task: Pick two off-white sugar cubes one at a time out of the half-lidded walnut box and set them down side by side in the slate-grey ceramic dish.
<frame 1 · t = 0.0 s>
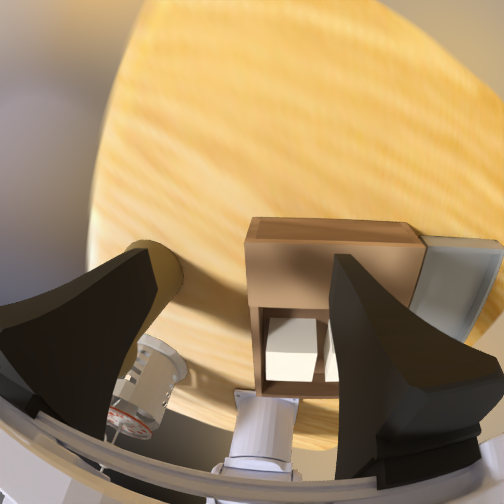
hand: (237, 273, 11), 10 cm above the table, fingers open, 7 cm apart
french press: (146, 359, 32), on the table
cube b: (347, 334, 24), resting on walnut box
walnut box: (322, 314, 24), on the table
slate dish: (443, 295, 21), on the table
cork: (153, 268, 24), on the table
cube a: (291, 333, 25), resting on walnut box
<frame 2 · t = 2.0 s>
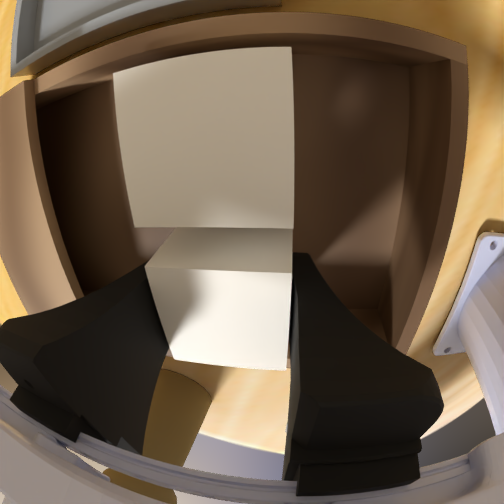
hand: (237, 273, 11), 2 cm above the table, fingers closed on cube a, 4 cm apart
cube b: (234, 126, 9), resting on walnut box
walnut box: (186, 194, 11), on the table
cork: (173, 389, 19), on the table
cube a: (242, 257, 12), resting on walnut box, touching gripper
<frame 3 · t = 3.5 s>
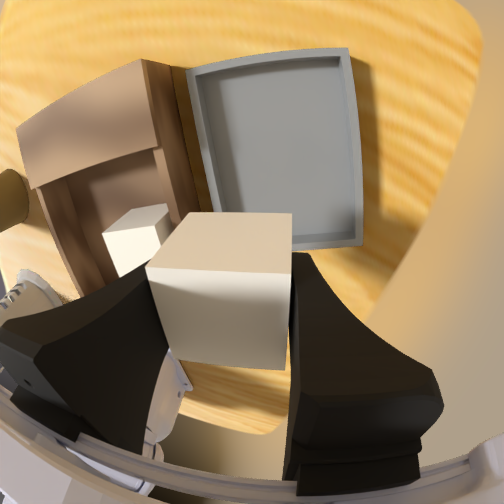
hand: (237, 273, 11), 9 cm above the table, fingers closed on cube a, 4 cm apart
french press: (40, 303, 28), on the table
cube b: (161, 230, 20), resting on walnut box
walnut box: (126, 206, 20), on the table
slate dish: (282, 151, 16), on the table
cork: (14, 195, 21), on the table
cube a: (241, 257, 12), point 7 cm above the table, touching gripper
when the fingers open (4 cm above the table, at t = 5.0 s): cube a drops 2 cm, resting on slate dish.
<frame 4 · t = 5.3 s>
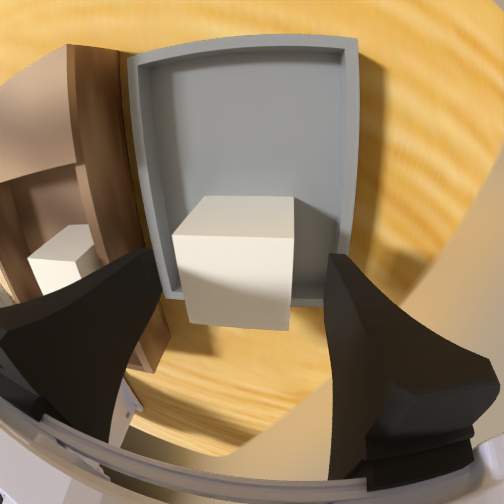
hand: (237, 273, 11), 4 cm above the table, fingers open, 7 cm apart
cube b: (100, 254, 15), resting on walnut box
walnut box: (65, 219, 15), on the table
slate dish: (247, 174, 12), on the table
cube a: (249, 236, 13), resting on slate dish
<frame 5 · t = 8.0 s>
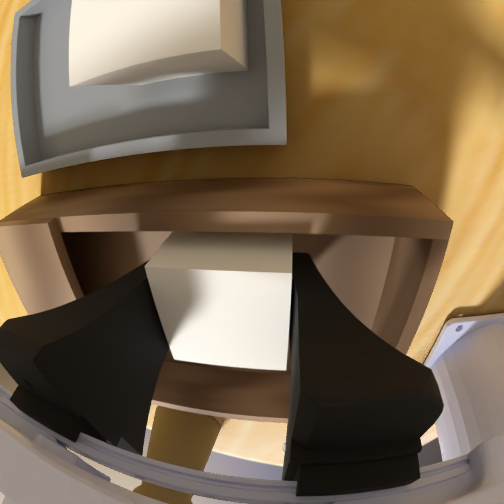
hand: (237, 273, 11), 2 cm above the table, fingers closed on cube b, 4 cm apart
cube b: (242, 257, 12), resting on walnut box, touching gripper
walnut box: (202, 297, 14), on the table
slate dish: (127, 46, 8), on the table
cork: (188, 418, 22), on the table
cube a: (190, 26, 7), resting on slate dish
when the fingers open (4 cm above the table, at t = 10.7 s): cube b drops 2 cm, resting on slate dish.
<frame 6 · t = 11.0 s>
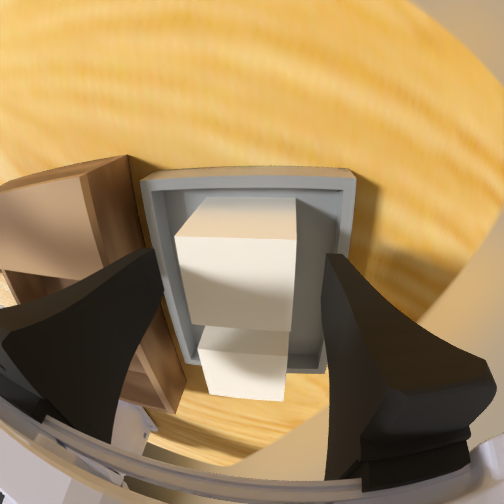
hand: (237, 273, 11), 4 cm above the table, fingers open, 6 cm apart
cube b: (251, 237, 13), resting on slate dish
walnut box: (90, 291, 18), on the table
slate dish: (252, 278, 15), on the table
cube a: (254, 323, 16), resting on slate dish
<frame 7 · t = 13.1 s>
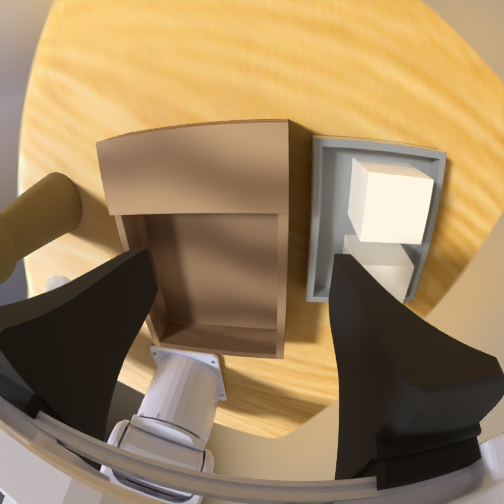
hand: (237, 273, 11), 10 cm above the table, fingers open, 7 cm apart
cube b: (378, 188, 17), resting on slate dish
walnut box: (211, 242, 22), on the table
slate dish: (370, 222, 19), on the table
cork: (60, 201, 22), on the table
cube a: (366, 259, 20), resting on slate dish
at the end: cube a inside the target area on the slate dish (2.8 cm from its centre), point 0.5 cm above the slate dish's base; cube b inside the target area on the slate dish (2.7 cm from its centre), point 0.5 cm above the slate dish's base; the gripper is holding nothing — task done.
